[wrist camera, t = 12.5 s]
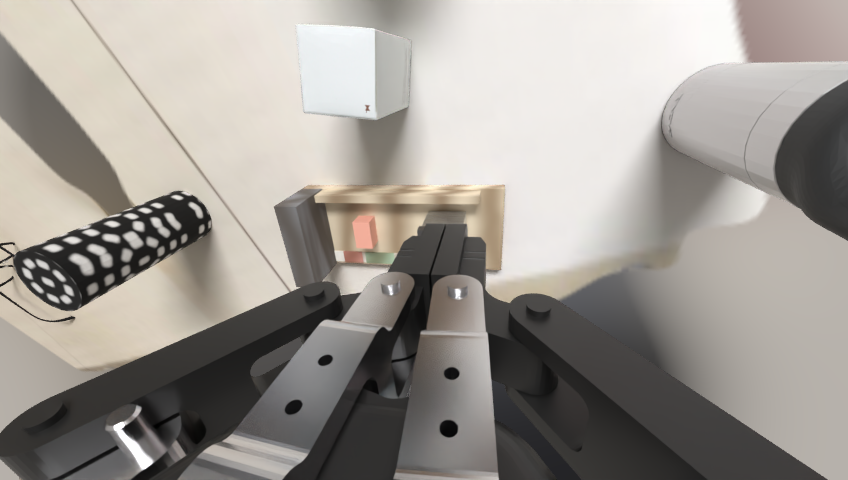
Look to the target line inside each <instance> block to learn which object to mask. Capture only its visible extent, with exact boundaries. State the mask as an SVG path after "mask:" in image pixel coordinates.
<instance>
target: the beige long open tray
mask: <svg viewBox="0 0 848 480" xmlns="http://www.w3.org/2000/svg"><path fill="white" fill-rule="evenodd" d="M504 194H505V185H308V186H306V187H305V188H303V189H301V190H300V191H298V192H297V193H295V194H293V195H292V196H290V197H289V198H287V199H285V200H284V201H282V202H281V203H279V204H277V205H276V206H274V209H275V212H276V216H277V219H278V223H279V226H280V230H281V234H282V237H283V241H284V244H285V248H286V251H287V255H288V258H289V262H290V265H291V269H292V272H293V276H294V280H295V283H296V287H303V286H306V285H308V284H311V283H316V282H322V280H323V279H324V278H325V277H326V276H327V274H328V273H329V272H330V271H331V269H332V268H333V267H334V266H335V264H336V263H337V262H341V263H362V264H383V265H392V263H393V261H394V259H395V257H397V254H398V252H399V251H400V248H401V246H402V244H403V242H404V241H406V240H407V239H408V238H410V237H411V236H417V229H418V227H419V226H422V224H423V222H424V220H425V218H426V216H427V214H428V212H429V211H466V224H467V229H468V237H481V238H482V239H483V241H484V242H485V243H486V269H490V270H501V259H502V237H503V216H504ZM358 216H375V223H376V230H377V237H378V242H377V243H376V245H375V246H374V248H373V249H366V248H357V247H356V241H355V236H354V230H353V224H352V222H353V221H354V220H355V219H356V218H357V217H358Z"/></svg>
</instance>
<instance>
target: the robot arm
mask: <svg viewBox="0 0 848 480" xmlns="http://www.w3.org/2000/svg"><path fill="white" fill-rule="evenodd" d="M662 129H663V134H664V136H665V139H666V141H667V142H668V143H669V144H670V146H671V147H673V148H674V149H675V150H677V151H679V152H681V153H683V154H685V155H687V156H689V157H691V158H693V159H695V160H697V161H699V162H701V163H704V164H706V165H708V166H710V167H712V168H714V169H716V170H719V171H721V172H723V173H725V174H727V175H729V176H731V177H734V178H736V179H738V180H740V181H742V182H744V183H746V184H748V185H751V186H753V187H755V188H757V189H759V190H761V191H763V192H766V193H768V194H770V195H772V196H775V197H777V198H779V199H781V200H783V201H785V202H788V203H790V204H792V205H794V206H796V207H798V208H800V209H802V211H803V212H804V213H805V215H806V216H807V217H809V218H810V219H811V220H812V221H814V222H815V223H817V224H818V225H820V226H822V227H824V228H825V229H827V230H829V231H831V232H833V233H835V234H837V235H839V236H840V237H842V238H844V239H846V240H847V241H848V61H843V62H780V63H779V62H776V63H723V64H718V65H714V66H710V67H708V68H705V69H703V70H701V71H699V72H697V73H695V74H694V75H692V76H691V77H689V78H688V79H687V80H686V81H684V82H683V83H682V84H681V85H680V86H679V87H678V88H677V89H676V91H675V92H674V93H673V94H672V96H671V97H670V99H669V101H668V103H667V104H666V107H665V110H664V113H663V118H662ZM485 284H486V243H485V242H484V241H483V239H482V238H481V237H468V229H467V224H447V225H446V224H435V223H427V224H426V225H425V228H424V230H423V232H422V234H421V236H411V237H410V238H408V239H407V240H406V241H404V242H403V244H402V246H401V248H400V251H399V252H398V254H397V257H395V259H394V261H393V263H392V265H391V267H390V269H389V270H388V272H387V273H383V274H380V275H378V276H376V277H374V278H373V279H372V280H371V281H370V282H369V283H368V284H367V286H366V287H365V288H364V290H363V291H362V292H361V293H356V294H349V295H342V296H341V295H340V290H339V287H338V286H337V285H336V284H334V283H331V282H316V283H311V284H308V285H306V286H303V287H301V288H299V289H296V290H294V291H292V292H290V293H287V294H285V295H283V296H280V297H278V298H276V299H274V300H271V301H269V302H267V303H265V304H262V305H260V306H258V307H255V308H253V309H251V310H249V311H246V312H244V313H242V314H239V315H237V316H235V317H233V318H230V319H228V320H226V321H224V322H221V323H219V324H217V325H214V326H212V327H210V328H208V329H205V330H203V331H201V332H198V333H196V334H194V335H192V336H189V337H187V338H185V339H182V340H180V341H178V342H176V343H173V344H171V345H169V346H167V347H164V348H162V349H160V350H157V351H155V352H153V353H151V354H148V355H146V356H144V357H141V358H139V359H137V360H135V361H132V362H130V363H128V364H125V365H123V366H121V367H119V368H116V369H114V370H112V371H110V372H107V373H105V374H103V375H100V376H98V377H96V378H94V379H91V380H89V381H87V382H85V383H82V384H80V385H78V386H75V387H73V388H71V389H69V390H66V391H64V392H62V393H59V394H57V395H55V396H53V397H50V398H48V399H46V400H44V401H42V402H40V403H39V404H37V405H35V406H33V407H31V408H30V409H28V410H27V411H25V412H24V413H22V414H21V415H20V416H18V417H17V418H16V419H14V420H13V421H12V422H11V423H10V424H9V425H7V426H6V427H5V429H4V430H3V431H2V432H1V433H0V459H1V460H2V461H3V462H4V463H5V464H6V465H7V466H8V467H9V468H10V469H12V471H14V472H15V473H16V474H17V475H18V476H19V479H20V480H557V479H556V477H555V476H554V475H553V473H552V472H551V471H550V469H548V467H547V466H546V464H545V463H544V462H543V460H542V459H541V458H540V457H539V455H538V454H537V453H536V452H535V451H534V449H533V448H532V447H531V446H530V445H529V444H528V443H527V442H526V441H525V440H524V439H523V438H521V437H520V436H519V435H518V434H517V433H515V432H514V431H513V430H512V429H510V428H508V427H507V426H506V425H504V424H503V423H501V422H499V421H497V420H495V419H494V411H493V397H492V384H491V379H492V380H494V381H497V382H499V383H502V384H504V385H505V389H506V392H507V394H508V396H509V397H510V398H511V399H512V401H513V402H514V403H515V404H516V405H517V406H518V407H519V409H520V410H521V411H522V412H523V413H524V414H525V415H526V417H527V418H528V419H529V420H530V421H531V422H532V423H533V425H534V426H535V427H536V428H537V429H538V430H539V431H540V433H541V434H542V435H543V436H544V437H545V438H546V439H547V440H548V442H549V443H550V444H551V445H552V446H553V447H554V448H555V450H556V451H557V452H558V453H559V454H560V455H561V456H562V458H563V459H564V460H565V461H566V462H567V463H568V464H569V465H570V467H571V468H572V469H573V470H574V471H575V472H576V473H577V475H578V476H579V477H580V478H581V479H582V480H827V479H826V478H824V477H823V476H821V475H820V474H818V473H817V472H815V471H814V470H812V469H811V468H809V467H808V466H806V465H805V464H803V463H802V462H800V461H799V460H797V459H796V458H794V457H793V456H791V455H790V454H788V453H787V452H785V451H784V450H782V449H781V448H779V447H778V446H776V445H775V444H773V443H772V442H770V441H769V440H767V439H766V438H764V437H763V436H761V435H760V434H758V433H757V432H755V431H753V430H752V429H751V428H749V427H748V426H746V425H745V424H743V423H741V422H740V421H739V420H737V419H736V418H734V417H733V416H731V415H730V414H728V413H727V412H725V411H724V410H722V409H720V408H719V407H718V406H716V405H715V404H713V403H712V402H710V401H708V400H707V399H705V398H704V397H702V396H701V395H699V394H698V393H696V392H695V391H693V390H692V389H690V388H689V387H687V386H686V385H684V384H683V383H681V382H680V381H678V380H677V379H675V378H674V377H672V376H671V375H669V374H668V373H666V372H665V371H663V370H662V369H660V368H659V367H657V366H656V365H654V364H653V363H651V362H650V361H648V360H647V359H645V358H644V357H642V356H641V355H639V354H638V353H636V352H635V351H633V350H632V349H630V348H629V347H627V346H626V345H624V344H623V343H621V342H620V341H618V340H617V339H615V338H614V337H612V336H611V335H609V334H608V333H606V332H605V331H603V330H602V329H600V328H599V327H597V326H596V325H594V324H592V323H591V322H590V321H588V320H587V319H585V318H583V317H582V316H580V315H579V314H578V313H576V312H574V311H573V310H571V309H570V308H569V307H567V306H566V305H564V304H563V303H561V302H560V301H558V300H556V299H554V298H552V297H550V296H546V295H542V294H524V295H520V296H518V297H516V298H515V299H513V300H512V301H511V303H507V302H503V301H500V300H498V299H496V298H494V297H492V296H491V295H490V294H489V293H488V292H487V291H486V290H485ZM298 337H300V338H301V341H302V344H303V345H302V347H301V348H300V349H299V351H298V352H297V353H296V354H295V355H294V357H293V358H292V359H290V360H288V361H287V362H285V363H283V364H281V365H279V366H278V367H276V368H274V369H272V370H270V371H269V372H267V373H265V374H263V375H261V376H257V377H253V376H251V375H250V369H251V367H252V365H253V363H254V362H255V361H256V360H257V359H259V358H260V357H262V356H264V355H266V354H268V353H269V352H271V351H273V350H275V349H277V348H279V347H281V346H283V345H285V344H287V343H289V342H290V341H292V340H294V339H296V338H298ZM410 386H411V389H410ZM409 389H410V395H409V397H407V395H408V392H409Z"/></svg>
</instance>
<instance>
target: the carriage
mask: <svg viewBox="0 0 848 480" xmlns="http://www.w3.org/2000/svg"><path fill="white" fill-rule="evenodd" d="M427 223H435V224H446V225H447V224H466V211H429V212H428V214H427V216H426V218H425V220H424V222H423V224H422V226H419V227H418V229H417V236H421V234H422V232H423V230H424V228H425V225H426V224H427Z"/></svg>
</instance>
